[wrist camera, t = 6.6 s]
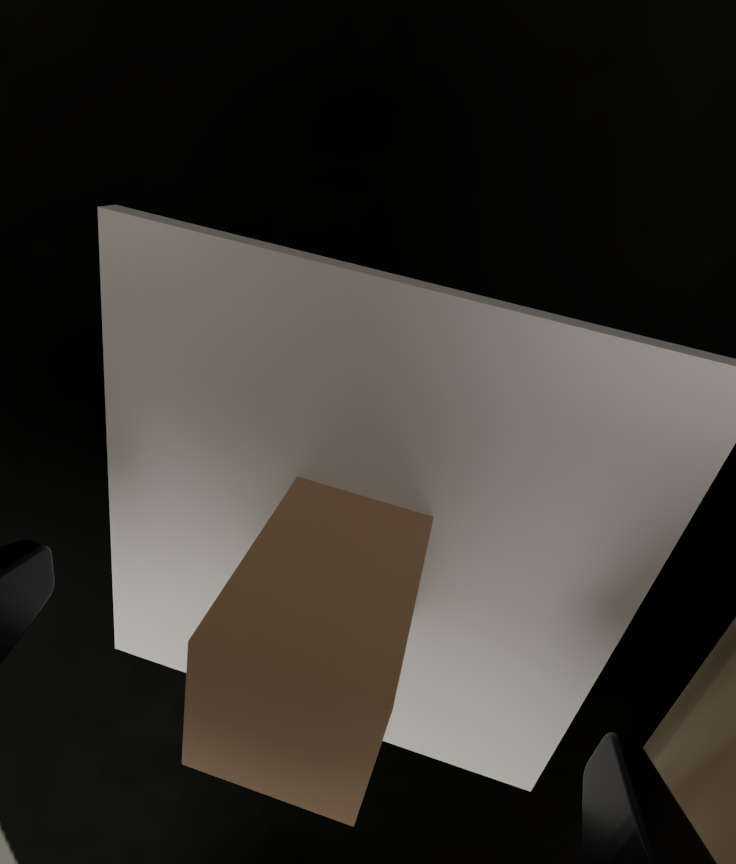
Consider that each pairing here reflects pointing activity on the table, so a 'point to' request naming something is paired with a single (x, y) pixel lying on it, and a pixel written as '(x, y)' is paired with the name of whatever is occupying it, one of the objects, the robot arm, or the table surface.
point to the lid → (380, 504)
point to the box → (704, 749)
